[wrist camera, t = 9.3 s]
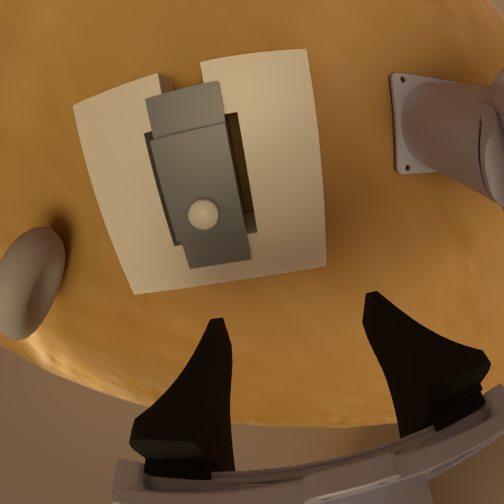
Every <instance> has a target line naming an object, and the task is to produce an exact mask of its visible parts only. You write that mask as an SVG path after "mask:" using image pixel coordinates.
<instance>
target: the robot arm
mask: <svg viewBox="0 0 504 504" xmlns="http://www.w3.org/2000/svg"><path fill="white" fill-rule="evenodd" d="M401 77H402V78H403V82H401V80H400V78H401ZM390 84H391V93H392V103H393V116H394V132H395V168H396V171H397V172H398V173H399V174H416V173H435V172H439V173H441V174H444V175H446V176H448V177H450V178H452V179H454V180H456V181H457V182H459V183H461V184H463V185H465V186H467V187H469V188H471V189H472V190H474V191H476V192H478V193H480V194H481V195H483V196H485V197H487V198H488V199H490V200H492V201H493V202H495V203H497V204H498V205H500V206H501V207H502V208H503V210H504V69H503V70H502V71H500V72H499V73H498V74H497V75H496V77H495V79H494V81H493V82H492V84H491V86H490V85H480V84H468V83H458V82H453V81H448V80H443V79H438V78H432V77H426V76H419V75H412V74H403V73H392V74H391V75H390ZM406 165H408V169H407V170H405V167H406ZM362 323H363V326H364V329H365V332H366V335H367V338H368V340H369V342H370V345H371V347H372V349H373V351H374V353H375V355H376V357H377V359H378V361H379V363H380V366H381V368H382V370H383V372H384V375H385V377H386V380H387V383H388V386H389V389H390V393H391V396H392V400H393V404H394V408H395V412H396V417H397V422H398V427H399V433H400V439H398V440H395V441H392V442H389V443H386V444H384V445H380V446H377V447H374V448H371V449H367V450H364V451H360V452H357V453H353V454H349V455H345V456H341V457H337V458H333V459H328V460H323V461H318V462H313V463H308V464H302V465H296V466H289V467H281V468H273V469H263V470H250V471H235V465H234V457H233V447H232V436H231V420H230V392H231V378H232V345H231V342H230V339H229V335H228V332H227V329H226V326H225V322H224V319H223V318H215V319H211V320H210V321H209V323H208V325H207V328H206V330H205V332H204V334H203V336H202V338H201V340H200V342H199V344H198V346H197V348H196V350H195V352H194V354H193V355H192V357H191V358H190V360H189V362H188V363H187V365H186V367H185V368H184V370H183V371H182V372H181V374H180V375H179V376H178V378H177V379H176V380H175V382H174V383H173V384H172V385H171V386H170V388H169V389H168V390H167V391H166V392H165V393H164V394H163V395H162V396H161V397H160V398H159V399H158V400H157V401H156V402H155V403H154V404H153V405H152V406H151V407H150V408H148V409H147V410H146V411H145V412H143V413H142V414H141V415H140V416H138V417H137V418H135V421H134V424H133V427H132V431H131V436H130V441H129V444H130V446H131V447H132V448H133V449H134V450H135V451H136V452H138V453H139V454H140V455H142V456H143V457H144V458H146V460H145V464H144V463H141V462H136V461H130V460H123V459H118V460H117V465H116V470H115V476H114V482H113V488H112V494H111V502H112V503H114V504H433V501H432V497H431V494H430V490H429V487H428V484H427V480H429V479H431V478H433V477H435V476H436V475H439V474H440V473H442V472H444V471H446V470H448V469H450V468H451V467H453V466H455V465H457V464H458V463H460V462H462V461H463V460H465V459H467V458H468V457H470V456H472V455H473V454H475V453H476V452H478V451H479V450H481V449H482V448H484V447H485V446H487V445H488V444H490V443H491V442H492V441H494V440H496V439H497V438H498V437H499V436H500V435H501V434H503V433H504V387H503V386H502V384H499V385H497V386H496V387H494V388H492V389H491V390H489V391H488V392H486V393H485V394H484V395H482V393H481V392H480V391H482V386H481V384H480V383H481V382H482V380H483V379H484V377H485V376H486V374H487V373H488V371H489V369H490V366H491V363H490V361H489V359H488V358H487V356H486V355H485V353H484V352H483V351H482V350H479V349H475V348H471V347H468V346H465V345H462V344H459V343H456V342H454V341H451V340H449V339H447V338H445V337H442V336H440V335H438V334H436V333H434V332H433V331H431V330H429V329H427V328H426V327H424V326H422V325H421V324H419V323H418V322H416V321H415V320H413V319H412V318H411V317H409V316H408V315H406V314H405V313H404V312H402V311H401V310H400V309H399V308H397V307H396V306H395V305H394V304H392V303H391V302H390V301H389V300H387V299H386V298H385V297H384V296H382V295H381V294H380V293H379V292H377V291H374V292H370V293H366V297H365V306H364V314H363V321H362ZM273 484H274V485H273Z"/></svg>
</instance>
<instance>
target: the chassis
mask: <svg viewBox="0 0 504 504" xmlns="http://www.w3.org/2000/svg"><path fill="white" fill-rule="evenodd" d="M200 65H201V71H202V76H203V82H204V83H208V82H213V81H218V82H219V88H220V93H221V98H222V104H223V109H224V114H228V113H234V112H237V113H238V119H239V125H240V130H241V136H242V142H243V148H244V154H245V160H246V165H247V171H248V177H249V183H250V189H251V195H252V201H253V207H254V212H249V213H244V220H245V226H246V231H247V236H248V242H249V247H250V252H251V260H244V261H238V262H232V263H226V264H220V265H213V266H207V267H201V268H194V269H190V268H189V265H188V262H187V259H186V255H185V252H184V249H183V246H182V243H181V241H179V242H177V239H176V236H175V233H174V230H173V226H172V223H171V220H170V216H169V213H168V209H167V206H166V202H165V199H164V195H163V191H162V188H161V184H160V180H159V176H158V173H157V169H156V165H155V161H154V157H153V153H152V149H151V145H150V141H151V140H154V138H153V134H152V130H151V125H150V121H149V116H148V111H147V107H146V102H145V99H147V98H150V97H153V96H157V95H160V94H163V93H167V92H171V91H174V86H173V80H172V78H169V77H167V76H164V75H162V74H159V73H156V74H153V75H150V76H147V77H143V78H140V79H137V80H134V81H132V82H129V83H126V84H123V85H120V86H118V87H115V88H113V89H110V90H108V91H105V92H103V93H100V94H98V95H95V96H93V97H91V98H89V99H86V100H84V101H82V102H80V103H78V104H76V105H73V109H74V114H75V119H76V124H77V129H78V133H79V137H80V142H81V146H82V150H83V154H84V157H85V161H86V165H87V168H88V172H89V175H90V179H91V182H92V186H93V189H94V192H95V195H96V198H97V201H98V204H99V207H100V210H101V213H102V216H103V219H104V222H105V225H106V227H107V230H108V233H109V235H110V238H111V241H112V243H113V246H114V248H115V251H116V253H117V256H118V258H119V261H120V263H121V266H122V268H123V270H124V273H125V275H126V277H127V280H128V282H129V284H130V286H131V289H132V291H133V293H134V295H135V294H143V293H151V292H158V291H166V290H174V289H181V288H188V287H196V286H203V285H210V284H217V283H224V282H231V281H237V280H244V279H250V278H257V277H263V276H270V275H276V274H282V273H289V272H295V271H301V270H307V269H313V268H319V267H324V266H326V230H325V209H324V193H323V179H322V166H321V155H320V145H319V135H318V126H317V118H316V110H315V102H314V95H313V88H312V81H311V75H310V69H309V63H308V57H307V51H306V49H293V50H278V51H267V52H258V53H250V54H243V55H236V56H230V57H224V58H218V59H213V60H208V61H203V62H200Z"/></svg>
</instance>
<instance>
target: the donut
mask: <svg viewBox="0 0 504 504" xmlns="http://www.w3.org/2000/svg"><path fill="white" fill-rule="evenodd" d="M65 256H66V254H65V249H64V244H63V241H62V239H61V238H60V237H59V236H58V234H57V233H56V232H54V231H53V230H52V229H50V228H47V227H38V228H32V229H30V230H28V231H27V232H25V233H23V234H22V235H20V236H19V237H18V238H17V239H16V240H15V241H14V242H13V243H12V244H11V245H10V247H9V248H8V250H7V251H6V253H5V254H4V256H3V258H2V259H1V261H0V333H1V334H2V335H4V336H5V337H7V338H9V339H11V340H16V341H17V340H21V339H25V338H28V337H29V336H30V335H31V334H32V333H34V332H35V331H36V330H37V328H38V327H39V326H40V324H41V323H42V322H43V320H44V318H45V317H46V315H47V314H48V312H49V310H50V308H51V306H52V304H53V302H54V299H55V297H56V294H57V292H58V289H59V286H60V283H61V280H62V276H63V272H64V267H65Z"/></svg>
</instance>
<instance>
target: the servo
mask: <svg viewBox="0 0 504 504" xmlns="http://www.w3.org/2000/svg"><path fill="white" fill-rule="evenodd" d="M145 102H146V107H147V111H148V116H149V121H150V125H151V130H152V134H153V138H154V140H151V141H150V145H151V149H152V153H153V157H154V161H155V165H156V169H157V173H158V176H159V180H160V184H161V188H162V191H163V195H164V199H165V202H166V206H167V209H168V213H169V216H170V220H171V223H172V226H173V230H174V233H175V236H176V239H177V242H179V241H181V243H182V246H183V249H184V252H185V255H186V259H187V262H188V265H189V268H190V269H194V268H201V267H207V266H213V265H220V264H226V263H232V262H238V261H244V260H251V252H250V247H249V242H248V236H247V231H246V226H245V220H244V201H243V195H242V190H241V185H240V179H239V174H238V168H237V163H236V158H235V152H234V147H233V141H232V136H231V131H230V125H229V120H225V114H224V109H223V104H222V98H221V93H220V88H219V82H218V81H213V82H208V83H203V84H199V85H194V86H190V87H186V88H182V89H178V90H174V91H171V92H167V93H163V94H160V95H157V96H153V97H150V98H147V99H145Z"/></svg>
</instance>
